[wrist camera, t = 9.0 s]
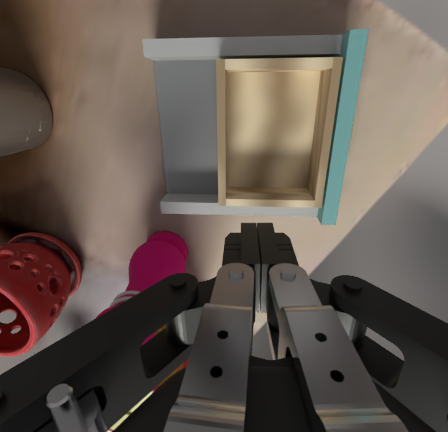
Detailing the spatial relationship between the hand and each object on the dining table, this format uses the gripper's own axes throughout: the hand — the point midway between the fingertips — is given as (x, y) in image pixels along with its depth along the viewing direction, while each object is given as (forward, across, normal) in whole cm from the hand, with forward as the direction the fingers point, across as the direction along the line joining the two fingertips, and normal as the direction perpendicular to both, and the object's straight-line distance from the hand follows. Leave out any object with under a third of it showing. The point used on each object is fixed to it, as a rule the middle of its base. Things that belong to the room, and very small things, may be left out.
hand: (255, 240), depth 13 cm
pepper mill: (+22, +12, +14) cm, 29 cm away
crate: (+21, -2, -2) cm, 21 cm away
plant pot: (+23, +31, +17) cm, 42 cm away
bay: (+22, 0, -2) cm, 22 cm away
